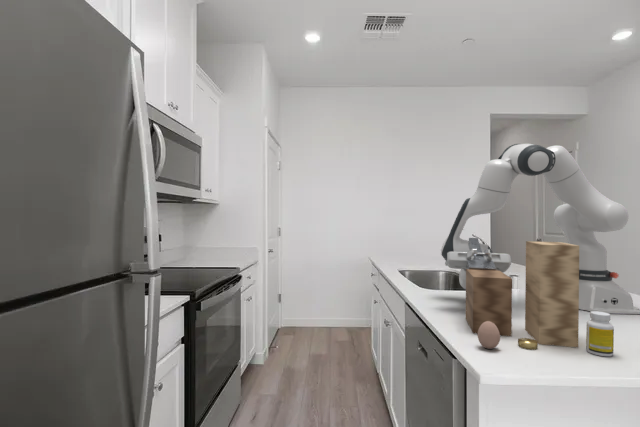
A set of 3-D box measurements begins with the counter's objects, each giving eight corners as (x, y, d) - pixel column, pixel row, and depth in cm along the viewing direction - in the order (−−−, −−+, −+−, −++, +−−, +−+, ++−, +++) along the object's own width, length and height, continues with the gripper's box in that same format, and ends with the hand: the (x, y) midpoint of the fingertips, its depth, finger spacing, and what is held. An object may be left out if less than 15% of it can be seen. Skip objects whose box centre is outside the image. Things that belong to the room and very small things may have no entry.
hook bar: (461, 244, 143) (461, 237, 142) (484, 245, 141) (484, 238, 140) (468, 275, 124) (469, 267, 123) (494, 276, 122) (495, 268, 121)
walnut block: (498, 320, 121) (499, 270, 121) (511, 336, 105) (512, 278, 105) (465, 318, 123) (466, 269, 123) (472, 333, 108) (473, 276, 108)
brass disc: (534, 345, 99) (534, 338, 99) (540, 351, 94) (540, 344, 94) (516, 344, 100) (516, 337, 100) (520, 349, 96) (520, 342, 96)
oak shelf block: (559, 332, 110) (560, 242, 110) (578, 347, 97) (579, 245, 97) (525, 329, 112) (525, 241, 112) (539, 344, 99) (540, 244, 99)
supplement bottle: (618, 358, 90) (618, 316, 90) (592, 356, 91) (593, 315, 91) (606, 350, 95) (606, 311, 95) (582, 348, 96) (582, 309, 97)
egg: (498, 353, 92) (498, 325, 92) (475, 349, 95) (476, 322, 95) (501, 347, 96) (501, 320, 96) (479, 343, 99) (479, 317, 99)
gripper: (444, 258, 140) (447, 241, 129) (504, 260, 135) (513, 243, 124) (444, 274, 137) (447, 258, 125) (506, 277, 132) (515, 261, 120)
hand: (481, 251), depth 124 cm, fingers open, 3 cm apart
